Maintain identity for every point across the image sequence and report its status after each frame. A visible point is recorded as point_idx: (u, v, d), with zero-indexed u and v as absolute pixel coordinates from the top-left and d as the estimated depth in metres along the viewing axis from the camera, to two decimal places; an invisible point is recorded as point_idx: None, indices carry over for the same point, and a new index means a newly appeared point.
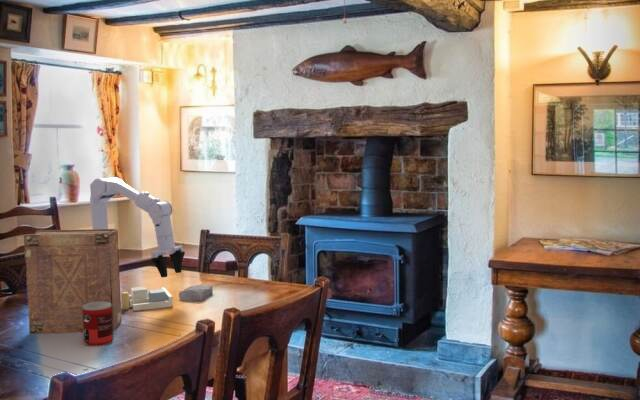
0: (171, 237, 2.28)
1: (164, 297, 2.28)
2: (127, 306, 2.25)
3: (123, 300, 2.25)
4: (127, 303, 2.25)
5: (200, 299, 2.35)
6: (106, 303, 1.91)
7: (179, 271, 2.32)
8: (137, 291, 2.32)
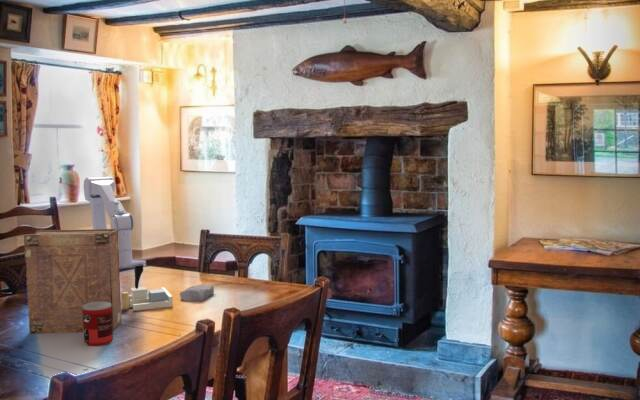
0: (124, 253, 2.21)
1: (164, 297, 2.28)
2: (127, 306, 2.25)
3: (123, 300, 2.25)
4: (127, 303, 2.25)
5: (201, 299, 2.35)
6: (106, 303, 1.91)
7: (135, 287, 2.26)
8: (137, 291, 2.32)
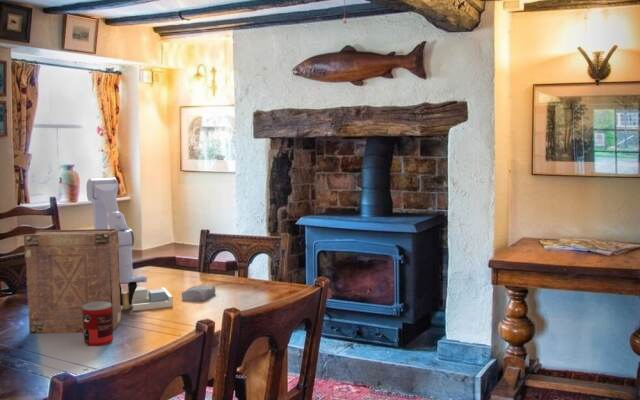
0: (124, 269, 2.22)
1: (164, 297, 2.28)
2: (127, 306, 2.25)
3: (123, 300, 2.25)
4: (127, 303, 2.25)
5: (203, 299, 2.35)
6: (106, 303, 1.91)
7: None
8: (137, 291, 2.32)
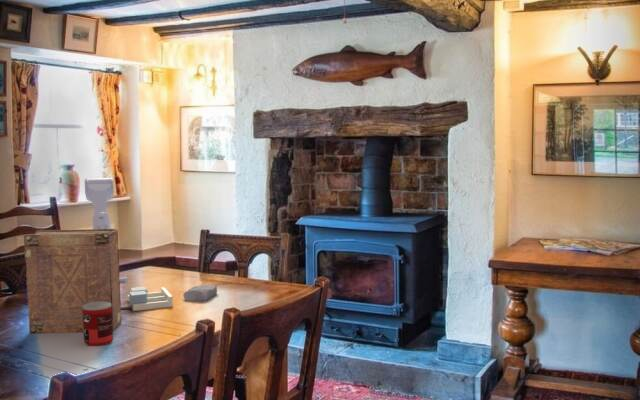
0: None
1: (145, 299, 2.26)
2: None
3: None
4: None
5: (205, 299, 2.35)
6: (106, 303, 1.91)
7: None
8: None
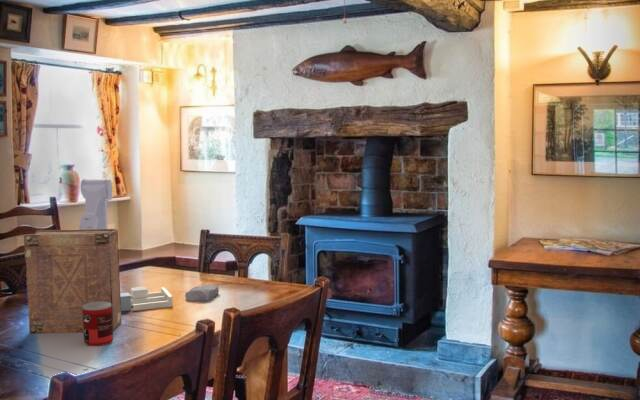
0: None
1: (129, 301, 2.24)
2: None
3: None
4: None
5: (207, 299, 2.35)
6: (106, 303, 1.91)
7: None
8: (137, 291, 2.32)
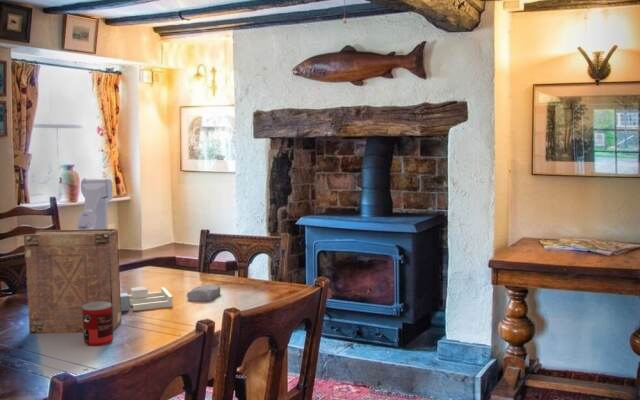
0: None
1: (127, 301, 2.24)
2: None
3: None
4: None
5: (209, 299, 2.35)
6: (106, 303, 1.91)
7: None
8: (137, 291, 2.32)
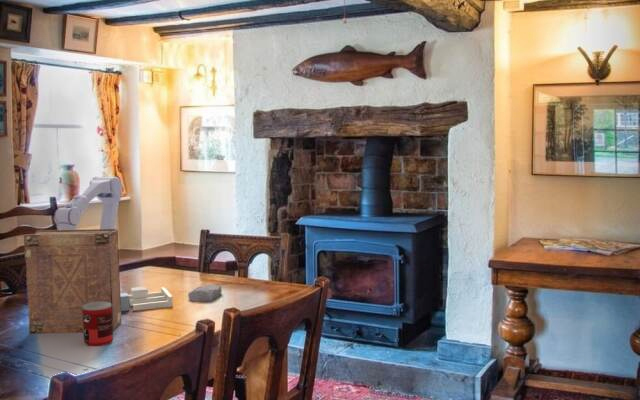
0: None
1: (127, 301, 2.24)
2: None
3: None
4: None
5: (210, 299, 2.35)
6: (106, 303, 1.91)
7: None
8: (137, 291, 2.32)
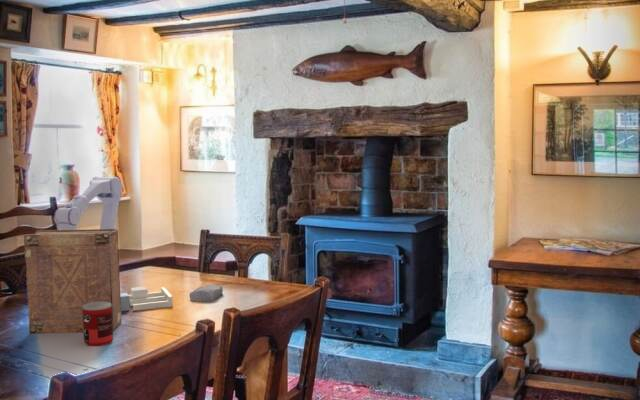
0: None
1: (127, 301, 2.24)
2: None
3: None
4: None
5: (211, 299, 2.35)
6: (106, 303, 1.91)
7: None
8: (137, 291, 2.32)
